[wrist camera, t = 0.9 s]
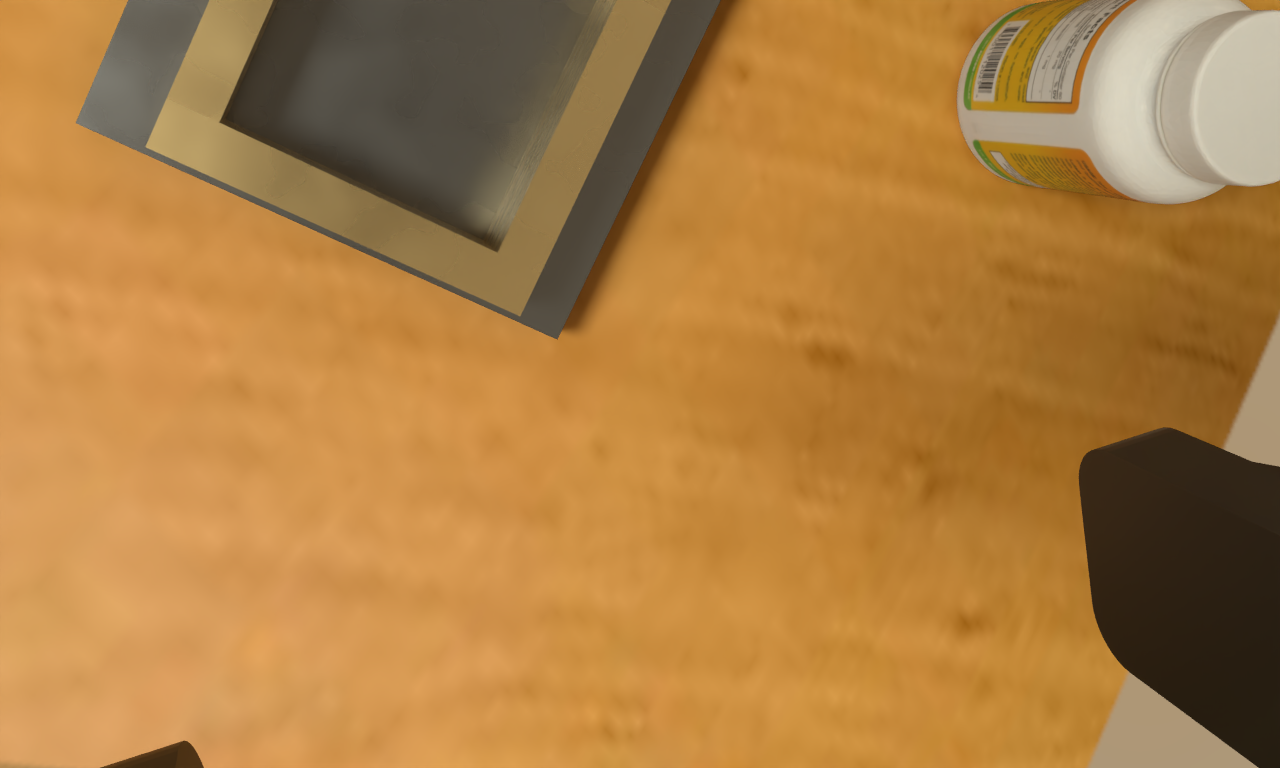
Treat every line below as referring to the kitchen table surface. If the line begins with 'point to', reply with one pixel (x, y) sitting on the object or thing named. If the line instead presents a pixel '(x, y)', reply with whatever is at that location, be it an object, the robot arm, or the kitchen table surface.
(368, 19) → the fitting plate
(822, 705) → the kitchen table surface
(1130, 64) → the supplement bottle
